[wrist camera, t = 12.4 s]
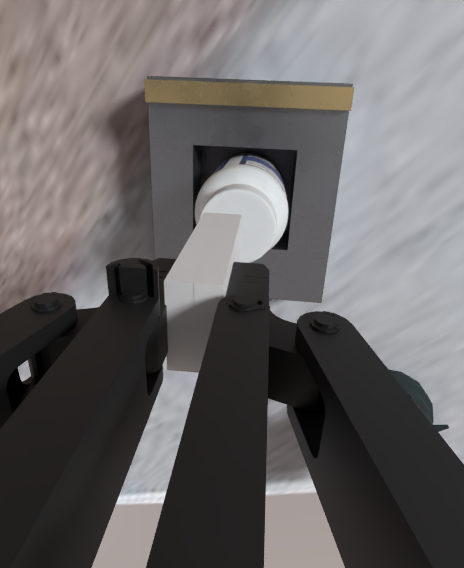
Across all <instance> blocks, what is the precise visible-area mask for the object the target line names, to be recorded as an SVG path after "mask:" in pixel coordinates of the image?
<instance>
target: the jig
mask: <svg viewBox="0 0 464 568" xmlns="http://www.w3.org/2000/svg"><path fill="white" fill-rule="evenodd" d="M352 86H353V84H344V83H317V82H291V81H265V80H238V79H212V78H186V77H159V76H147V79H144V89H145V102H148V115H149V138H150V162H151V185H152V209H153V232H154V256H155V260H156V259H158V258H169V259H177V258H178V256H179V254H180V253H181V251H182V249H183V248H184V246H185V244H186V243H187V241H188V239H189V237H190V236H191V234H192V232H193V231H194V229H195V227H196V226H197V224H196V220H195V204H196V200H197V196H198V194H199V191H200V190H201V188H202V186H203V184H204V183H205V182H206V180H207V179H208V178H209V177H210V176H211V175H212V173H213V172H214V171H215V169H216V168H217V167H218V166H219V165H220V164H221V163H222V162H223V161H225V160H226V159H228V158H230V157H232V156H234V155H238V154H242V153H252V154H257V155H260V156H262V157H264V158H266V159H268V160H269V161H271V162H272V163H273V164H274V165H275V166H276V168H277V169H278V171H279V172H280V174H281V176H282V179H283V182H284V186H285V192H286V197H287V201H288V221H287V225H286V228H285V231H284V233H283V235H282V237H281V238H280V240H279V241H278V242H277V243H276V244H275V245H274V246H273V247H272V248H271V249H270V250H268V251H267V252H266V253H265V254H264V255H263V256H262V257H260V258H259V259H257V260H255V261H253V262H250V263H258V264H264V265H265V266H266V267H267V268H268V269H269V299H278V300H291V301H304V302H317V303H321V302H322V295H323V288H324V281H325V274H326V267H327V260H328V254H329V247H330V240H331V233H332V226H333V219H334V212H335V205H336V198H337V191H338V184H339V177H340V170H341V163H342V156H343V149H344V142H345V135H346V128H347V121H348V114H349V111H351V106H352V99H353V92H354V87H352Z"/></svg>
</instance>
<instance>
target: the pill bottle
mask: <svg viewBox="0 0 464 568" xmlns="http://www.w3.org/2000/svg"><path fill="white" fill-rule="evenodd" d="M204 212H207V213H223V214H240V215H242V223H241V244H240V262H244V263H250V262H253V261H255V260H257V259H259V258H260V257H262V256H263V255H264V254H265V253H266V252H267V251H268V250H270V249H271V248H272V247H273V246H274V245H275V244H276V243H277V242H278V241H279V240H280V238H281V237H282V235H283V233H284V231H285V228H286V225H287V221H288V201H287V197H286V192H285V186H284V182H283V179H282V176H281V174H280V172H279V171H278V169H277V168H276V166H275V165H274V164H273V163H272V162H271V161H269V160H268V159H266V158H264V157H262V156H260V155H257V154H252V153H242V154H238V155H234V156H232V157H230V158H228V159H226V160H225V161H223V162H222V163H221V164H220V165H219V166H218V167H217V168H216V169H215V171H214V172H213V173H212V175H211V176H210V177H209V178H208V179H207V180H206V182H205V183H204V184H203V186H202V188H201V190H200V191H199V194H198V196H197V200H196V204H195V220H196V224H198V222H199V220H200V219H201V217H202V215H203V214H204Z"/></svg>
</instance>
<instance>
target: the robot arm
mask: <svg viewBox="0 0 464 568" xmlns="http://www.w3.org/2000/svg"><path fill="white" fill-rule="evenodd" d="M241 223H242V215H240V214H223V213H207V212H204V214H203V215H202V217H201V219H200V220H199V222H198V224H197V226H196V227H195V229H194V231H193V232H192V234H191V236H190V237H189V239H188V241H187V243H186V244H185V246H184V248H183V249H182V251H181V253H180V254H179V256H178V258H177V259H169V258H158V259H156V260H154V261H151V260H148V259H141V258H128V259H121V260H117V261H114V262H111V263H110V264H108V265H107V266H106V271H107V281H108V290H109V296H108V297H107V298H106V300H105V301H104V302H103V303H102V305H101V306H100V307H98V308H89V309H78V310H76V303H75V300H74V298H73V297H72V296H69V295H67V294H61V293H56V292H51V293H43V294H41V295H37V296H34V297H31V298H29V299H27V300H24V301H23V302H21V303H19V304H17V305H16V306H14V307H12V308H10V309H8V310H7V311H5V312H3V313H1V314H0V568H91V567H92V565H93V562H94V559H95V557H96V554H97V551H98V549H99V546H100V544H101V541H102V538H103V535H104V533H105V530H106V528H107V525H108V522H109V520H110V517H111V515H112V512H113V510H114V507H115V504H116V502H117V499H118V497H119V494H120V491H121V489H122V486H123V483H124V481H125V478H126V476H127V473H128V470H129V468H130V465H131V463H132V460H133V457H134V455H135V452H136V449H137V447H138V444H139V442H140V439H141V436H142V434H143V431H144V429H145V426H146V423H147V421H148V418H149V415H150V413H151V410H152V408H153V405H154V402H155V400H156V397H157V395H158V392H159V389H160V387H161V384H162V381H163V362H164V360H165V357H166V355H167V370H177V371H188V372H199V375H198V379H197V382H196V386H195V390H194V393H193V397H192V401H191V404H190V408H189V412H188V415H187V419H186V423H185V426H184V430H183V434H182V437H181V441H180V445H179V448H178V452H177V456H176V459H175V463H174V467H173V470H172V474H171V478H170V481H169V485H168V489H167V493H166V496H165V500H164V504H163V507H162V511H161V515H160V519H159V522H158V526H157V529H156V533H155V537H154V540H153V544H152V548H151V551H150V555H149V559H148V562H147V566H146V568H264V533H265V491H266V448H267V405H268V398H269V399H272V400H275V401H278V402H281V403H284V404H287V413H288V416H289V419H290V422H291V424H292V427H293V430H294V432H295V435H296V438H297V440H298V443H299V446H300V448H301V451H302V454H303V456H304V459H305V462H306V464H307V467H308V470H309V472H310V475H311V478H312V480H313V483H314V486H315V488H316V491H317V494H318V496H319V499H320V502H321V504H322V507H323V510H324V512H325V515H326V518H327V520H328V523H329V526H330V528H331V531H332V533H333V536H334V539H335V541H336V544H337V547H338V550H339V552H340V555H341V558H342V560H343V563H344V566H345V568H464V464H463V463H462V462H461V461H460V459H459V458H458V457H457V456H456V454H455V453H454V452H453V451H452V449H451V448H450V447H449V445H448V444H447V443H446V442H445V440H444V439H443V438H442V437H441V435H440V434H439V433H438V432H437V430H436V429H435V428H434V427H433V425H432V424H431V423H430V422H429V420H428V419H427V418H426V417H425V415H424V414H423V413H422V411H421V410H420V409H419V408H418V406H417V405H416V404H415V403H414V401H413V400H412V399H411V398H410V396H409V395H408V394H407V393H406V391H405V390H404V389H403V388H402V386H401V385H400V384H399V382H398V381H397V380H396V379H395V377H394V376H393V375H392V374H391V372H390V371H389V370H388V369H387V367H386V366H385V365H384V364H383V362H382V361H381V360H380V359H379V357H378V356H377V355H376V354H375V352H374V351H373V350H372V348H371V347H370V346H369V345H368V343H367V342H366V341H365V340H364V338H363V337H362V336H361V335H360V333H359V332H358V331H357V330H356V328H355V327H354V326H353V325H352V323H350V322H349V321H348V320H347V319H345V318H343V317H341V316H339V315H337V314H335V313H330V312H326V311H323V312H317V311H316V312H309V313H306V314H304V315H302V316H300V317H299V319H298V320H297V324H296V323H292V322H289V321H286V320H283V319H281V318H279V317H277V316H275V315H274V314H273V313H272V312H271V311H270V306H269V269H268V268H267V267H266V266H265V265H264V264H258V263H244V262H240V244H241ZM27 360H28V363H29V367H30V372H31V377H29V378H28V379H27V380H25V381H23V382H22V381H21V380H20V376H19V372H18V368H17V367H18V366H20V365H21V364H22V363H24V362H25V361H27Z"/></svg>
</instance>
